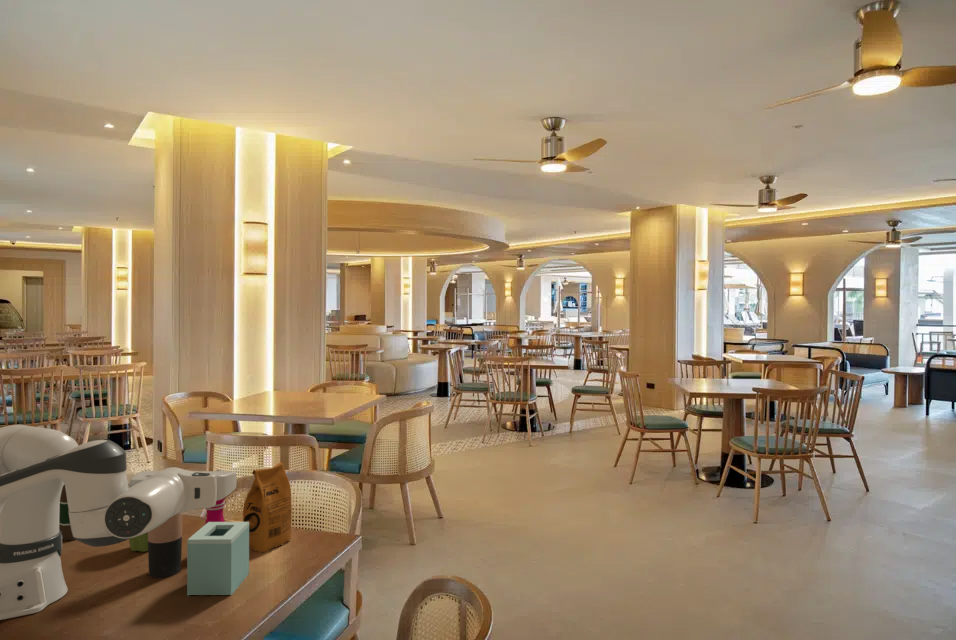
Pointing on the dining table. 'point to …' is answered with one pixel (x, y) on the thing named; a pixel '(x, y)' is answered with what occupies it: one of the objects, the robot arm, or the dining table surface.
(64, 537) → the beer bottle
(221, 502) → the pepper mill
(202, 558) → the box
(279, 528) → the coffee package
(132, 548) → the plant pot
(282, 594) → the dining table surface
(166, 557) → the travel mug
